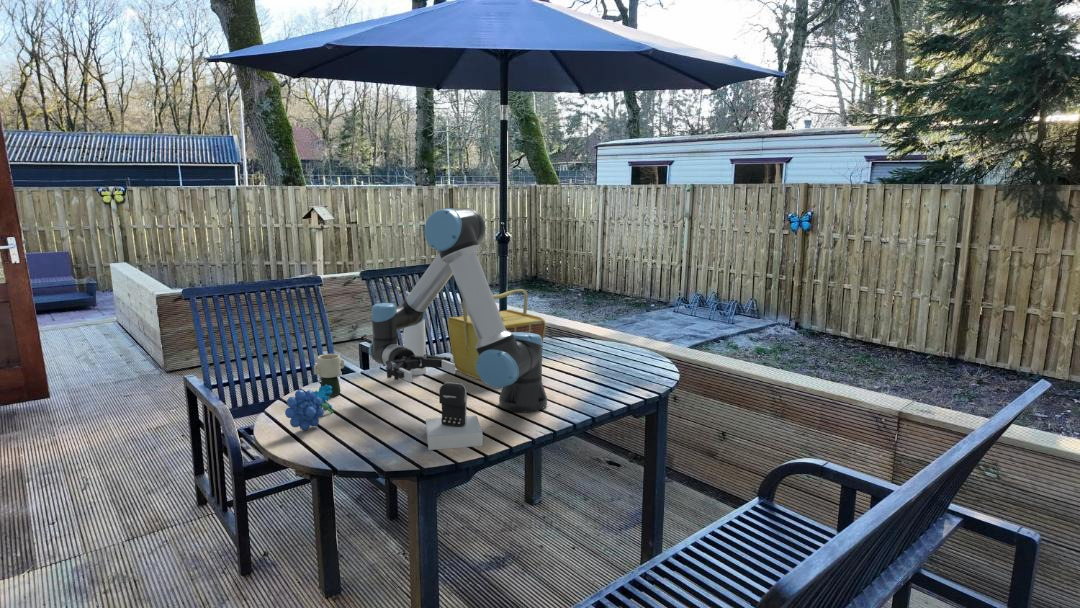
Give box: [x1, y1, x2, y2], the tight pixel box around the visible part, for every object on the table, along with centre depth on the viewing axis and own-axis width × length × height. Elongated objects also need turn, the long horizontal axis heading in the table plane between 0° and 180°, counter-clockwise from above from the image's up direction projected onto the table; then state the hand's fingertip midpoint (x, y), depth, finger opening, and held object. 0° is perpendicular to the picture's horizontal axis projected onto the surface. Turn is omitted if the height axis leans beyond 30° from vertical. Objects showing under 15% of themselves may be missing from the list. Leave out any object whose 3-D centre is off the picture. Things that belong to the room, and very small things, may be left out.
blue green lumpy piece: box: [314, 384, 334, 414], centre depth 190 cm, size 11×6×10 cm
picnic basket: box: [447, 288, 547, 381], centre depth 233 cm, size 29×26×30 cm
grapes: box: [284, 389, 325, 431], centre depth 172 cm, size 12×7×12 cm, turn 144°
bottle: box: [403, 292, 427, 377], centre depth 228 cm, size 8×8×30 cm
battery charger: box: [438, 381, 468, 427], centre depth 167 cm, size 7×4×11 cm, turn 73°
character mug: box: [313, 353, 345, 397], centre depth 203 cm, size 11×7×13 cm, turn 141°
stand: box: [425, 415, 483, 451], centre depth 168 cm, size 14×12×4 cm
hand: (433, 373), depth 174 cm, fingers open, 13 cm apart
